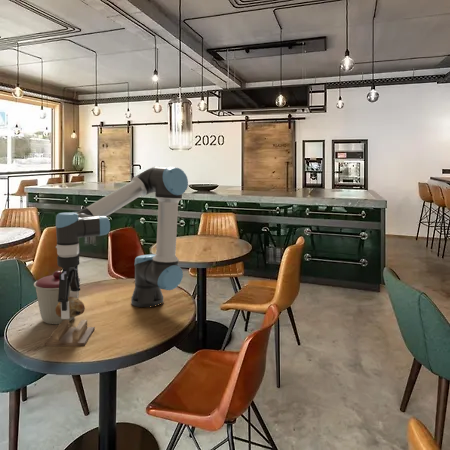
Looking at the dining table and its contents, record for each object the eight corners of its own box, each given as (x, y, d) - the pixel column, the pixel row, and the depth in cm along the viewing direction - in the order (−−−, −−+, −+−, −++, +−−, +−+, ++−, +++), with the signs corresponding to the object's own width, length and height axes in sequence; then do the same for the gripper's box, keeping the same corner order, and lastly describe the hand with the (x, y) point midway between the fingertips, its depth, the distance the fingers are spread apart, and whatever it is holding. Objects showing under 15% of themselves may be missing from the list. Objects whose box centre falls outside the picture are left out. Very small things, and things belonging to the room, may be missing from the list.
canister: (79, 309, 175) (78, 263, 172) (85, 324, 159) (83, 274, 156) (34, 315, 167) (32, 267, 164) (36, 331, 151) (33, 279, 148)
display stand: (94, 329, 155) (94, 318, 154) (84, 345, 141) (84, 333, 140) (58, 329, 154) (57, 318, 153) (44, 345, 140) (44, 334, 139)
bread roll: (63, 329, 141) (69, 312, 138) (47, 311, 145) (52, 294, 142) (86, 320, 149) (91, 304, 146) (70, 304, 153) (75, 288, 150)
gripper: (67, 248, 153) (69, 302, 157) (45, 262, 131) (48, 325, 134) (87, 248, 154) (88, 302, 157) (68, 262, 132) (70, 325, 135)
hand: (70, 312), depth 146 cm, fingers closed on bread roll, 10 cm apart
